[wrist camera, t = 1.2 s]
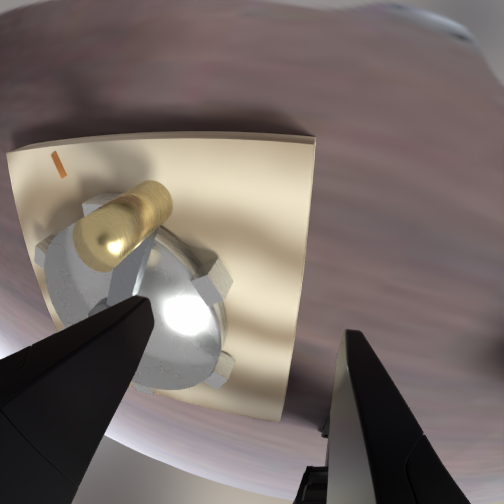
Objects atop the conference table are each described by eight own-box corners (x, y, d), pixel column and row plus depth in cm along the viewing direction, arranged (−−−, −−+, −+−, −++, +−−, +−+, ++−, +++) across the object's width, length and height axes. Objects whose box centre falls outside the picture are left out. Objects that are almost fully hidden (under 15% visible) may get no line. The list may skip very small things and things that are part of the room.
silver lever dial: (236, 398, 25) (212, 466, 19) (87, 354, 28) (51, 402, 22) (233, 172, 16) (174, 226, 10) (32, 171, 19) (-38, 207, 13)
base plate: (285, 398, 29) (279, 423, 26) (85, 346, 34) (71, 363, 31) (315, 137, 17) (313, 144, 15) (30, 144, 22) (5, 153, 19)
